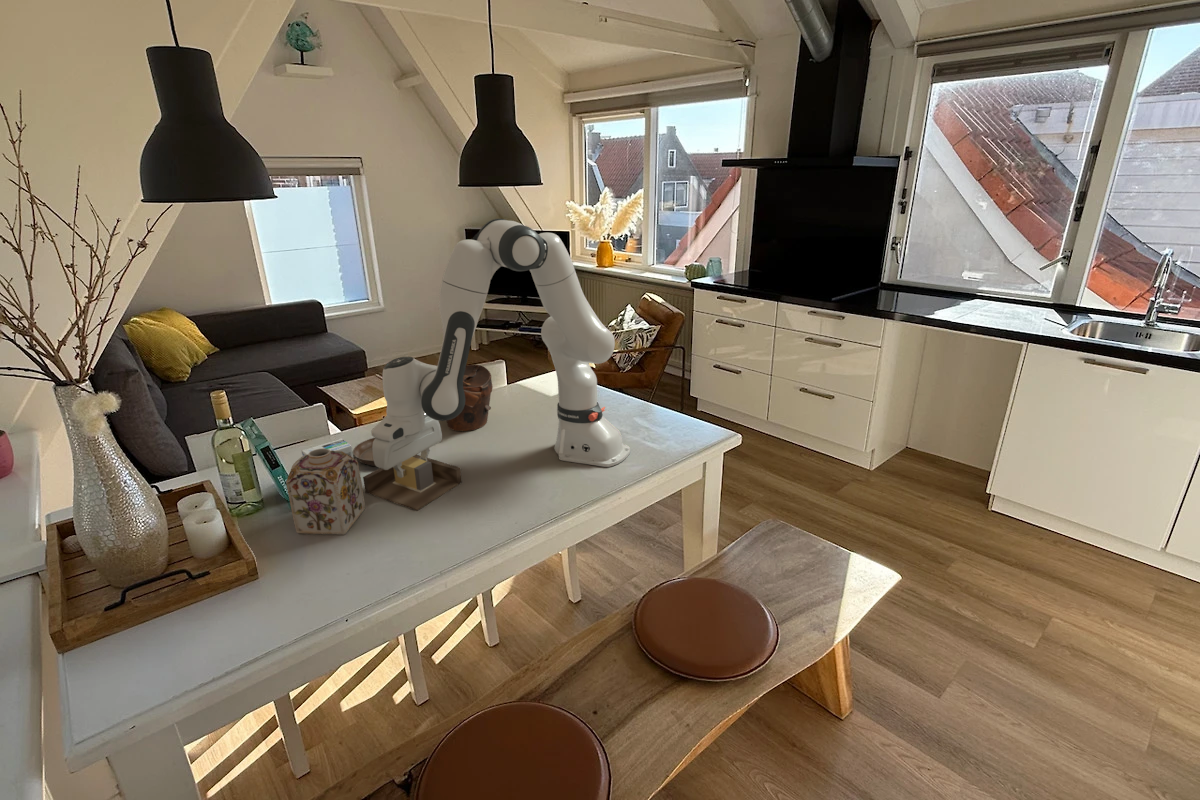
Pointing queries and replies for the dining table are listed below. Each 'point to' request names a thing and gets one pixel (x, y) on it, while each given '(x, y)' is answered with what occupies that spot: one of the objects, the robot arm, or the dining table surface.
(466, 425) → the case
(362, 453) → the plant saucer
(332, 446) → the light bulb box
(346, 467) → the decorative jar
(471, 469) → the dining table surface
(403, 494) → the corner arena
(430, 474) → the ochre block
